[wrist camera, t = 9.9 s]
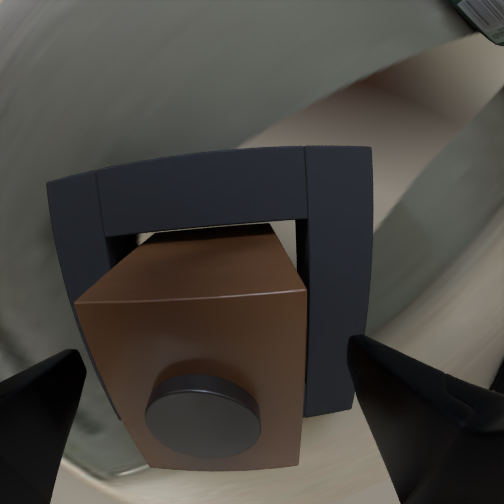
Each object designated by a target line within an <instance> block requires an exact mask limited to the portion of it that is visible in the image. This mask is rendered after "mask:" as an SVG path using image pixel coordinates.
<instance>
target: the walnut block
mask: <svg viewBox="0 0 504 504" xmlns="http://www.w3.org/2000/svg"><path fill="white" fill-rule="evenodd" d="M74 305H75V309H76V312H77V315H78V318H79V321H80V324H81V327H82V330H83V333H84V336H85V338H86V341H87V344H88V346H89V349H90V352H91V354H92V357H93V359H94V362H95V364H96V367H97V369H98V371H99V374H100V376H101V378H102V380H103V383H104V385H105V387H106V389H107V391H108V393H109V396H110V398H111V400H112V402H113V404H114V406H115V408H116V410H117V412H118V414H119V415H120V417H121V419H122V421H123V423H124V425H125V427H126V428H127V430H128V432H129V434H130V436H131V437H132V439H133V441H134V442H135V444H136V446H137V447H138V449H139V451H140V452H141V454H142V455H143V457H144V459H145V460H146V462H147V463H148V465H149V466H150V467H152V468H161V469H172V470H187V471H247V470H262V469H273V468H282V467H290V466H297V465H298V463H299V453H300V442H301V430H302V417H303V402H304V385H305V363H306V333H307V289H306V287H305V286H304V284H303V282H302V280H301V278H300V276H299V275H298V273H297V271H296V269H295V267H294V266H293V264H292V262H291V260H290V259H289V257H288V255H287V253H286V252H285V250H284V248H283V246H282V244H281V242H280V241H279V239H278V237H277V236H276V234H275V232H274V230H273V229H272V227H271V225H270V224H269V223H264V224H250V225H237V226H226V227H213V228H202V229H191V230H180V231H169V232H159V233H154V234H153V235H152V236H151V237H149V238H148V239H147V240H146V241H144V242H143V243H142V244H141V245H140V246H138V247H137V248H136V249H135V250H133V251H132V252H131V253H130V254H129V255H127V256H126V257H125V258H124V259H123V260H121V261H120V262H119V263H118V264H117V265H116V266H114V267H113V268H112V269H111V270H110V271H109V272H107V273H106V274H105V275H104V276H103V277H102V278H100V279H99V280H98V281H97V282H96V283H95V284H94V285H93V286H91V287H90V288H89V289H88V290H87V291H86V292H85V293H84V294H83V295H81V296H80V297H79V298H78V299H77V300H76V301H75V302H74Z"/></svg>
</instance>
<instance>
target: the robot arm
mask: <svg viewBox="0 0 504 504" xmlns="http://www.w3.org/2000/svg"><path fill="white" fill-rule="evenodd" d="M346 361H347V366H348V369H349V372H350V375H351V379H352V382H353V385H354V389H355V392H356V395H357V399H358V402H359V404H360V407H361V409H362V411H363V413H364V416H365V418H366V420H367V423H368V425H369V427H370V430H371V432H372V434H373V437H374V439H375V441H376V444H377V446H378V449H379V451H380V453H381V456H382V458H383V461H384V463H385V465H386V468H387V470H388V473H389V475H390V478H391V480H392V483H393V485H394V488H395V490H396V493H397V495H398V498H399V501H400V503H401V504H504V360H503V363H502V365H501V367H500V370H499V372H498V374H497V376H496V378H495V380H494V383H493V385H492V387H491V389H490V390H488V389H485V388H482V387H479V386H476V385H473V384H470V383H468V382H465V381H463V380H460V379H458V378H456V377H453V376H451V375H449V374H445V373H444V372H442V371H440V370H438V369H435V368H433V367H431V366H429V365H427V364H424V363H422V362H420V361H418V360H416V359H414V358H411V357H409V356H407V355H405V354H403V353H401V352H399V351H396V350H394V349H392V348H390V347H388V346H386V345H384V344H382V343H379V342H377V341H375V340H373V339H371V338H369V337H367V336H365V335H362V334H359V335H354V336H350V337H349V340H348V348H347V356H346ZM86 373H87V371H86V367H85V365H84V362H83V360H82V358H81V355H80V353H79V351H78V350H76V349H66V350H64V351H62V352H60V353H58V354H56V355H54V356H52V357H50V358H48V359H46V360H44V361H42V362H40V363H38V364H36V365H34V366H32V367H30V368H28V369H26V370H24V371H22V372H20V373H18V374H16V375H14V376H12V377H10V378H8V379H6V380H4V381H2V382H0V504H50V503H49V502H51V497H52V492H53V489H54V484H55V480H56V477H57V473H58V469H59V465H60V462H61V458H62V455H63V452H64V448H65V445H66V442H67V439H68V435H69V432H70V429H71V426H72V423H73V420H74V418H75V415H76V412H77V409H78V405H79V401H80V397H81V393H82V389H83V385H84V382H85V378H86Z"/></svg>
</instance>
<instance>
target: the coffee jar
mask: <svg viewBox="0 0 504 504" xmlns="http://www.w3.org/2000/svg"><path fill="white" fill-rule="evenodd" d="M449 1H450V2H451V4H452V5H453V6H454V7H455V8H456V10H457V11H458V12H459V13H460V14H461V15H462V16H463V17H464V18H465V19H466V20H467V21H468V22H469V23H470V24H471V25H472V26H473V27H474V28H475V29H476V30H478V31H479V32H480V33H481V34H483V35H484V36H485V37H486V38H487V39H488V40H490V41H491V42H493V43H494V44H496V45H500V46H504V0H449Z"/></svg>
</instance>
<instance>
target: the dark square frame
mask: <svg viewBox="0 0 504 504" xmlns="http://www.w3.org/2000/svg"><path fill="white" fill-rule="evenodd" d="M46 186H47V195H48V203H49V210H50V217H51V223H52V229H53V234H54V239H55V244H56V249H57V254H58V258H59V263H60V267H61V271H62V275H63V279H64V283H65V286H66V290H67V293H68V297H69V300H70V304H71V307H72V310H73V313H74V316H75V319H76V322H77V325H78V328H79V331H80V334H81V336H82V339H83V342H84V344H85V347H86V350H87V352H88V355H89V357H90V360H91V362H92V364H93V367H94V369H95V371H96V374H97V376H98V378H99V380H100V382H101V385H102V387H103V389H104V391H105V393H106V395H107V397H108V399H109V401H110V403H111V405H112V407H113V409H114V411H115V413H116V415H117V417H118V419H119V420H122V419H121V417H120V415H119V414H118V412H117V410H116V408H115V406H114V404H113V402H112V400H111V398H110V396H109V393H108V391H107V389H106V387H105V385H104V383H103V380H102V378H101V376H100V374H99V371H98V369H97V367H96V364H95V362H94V359H93V357H92V354H91V352H90V349H89V346H88V344H87V341H86V338H85V336H84V333H83V330H82V327H81V324H80V321H79V318H78V315H77V312H76V309H75V305H74V302H75V301H76V300H77V299H78V298H79V297H80V296H81V295H83V294H84V293H85V292H86V291H87V290H88V289H89V288H90V287H91V286H93V285H94V284H95V283H96V282H97V281H98V280H99V279H100V278H102V277H103V276H104V275H105V274H106V273H107V272H109V271H110V270H111V269H112V268H113V267H114V266H116V265H117V264H118V263H119V262H120V261H121V260H123V259H124V258H125V257H126V256H127V255H129V254H130V253H131V252H132V250H131V245H130V239H129V235H130V234H139V233H148V232H158V231H168V230H177V229H188V228H198V227H209V226H219V225H220V226H221V225H232V224H244V223H255V222H256V223H257V222H269V221H283V220H295V223H296V253H297V273H298V275H299V276H300V278H301V280H302V282H303V284H304V286H305V287H306V289H307V333H306V363H305V385H304V402H303V417H302V418H304V417H305V418H306V417H312V416H318V415H324V414H329V413H335V412H340V411H344V410H349V409H351V408H352V403H353V399H354V394H355V389H354V385H353V382H352V379H351V375H350V372H349V369H348V366H347V361H346V356H347V348H348V340H349V337H350V336H354V335H359V334H362V335H365V328H366V320H367V311H368V302H369V291H370V279H371V265H372V245H373V168H372V150H371V147H365V146H281V147H261V148H245V149H232V150H221V151H211V152H202V153H193V154H185V155H178V156H170V157H163V158H157V159H151V160H145V161H139V162H133V163H128V164H122V165H117V166H112V167H107V168H102V169H98V170H93V171H89V172H85V173H80V174H76V175H72V176H68V177H64V178H60V179H57V180H53V181H49V182H47V184H46Z"/></svg>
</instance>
